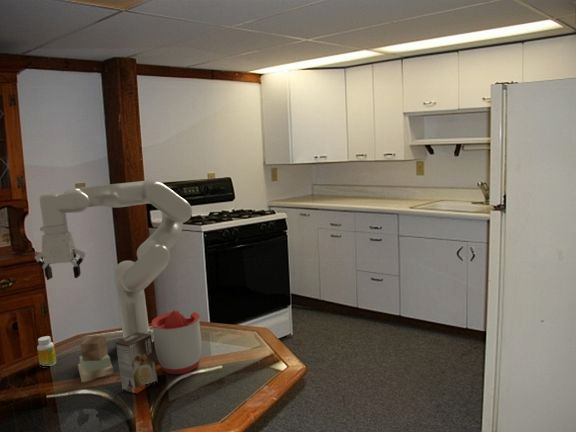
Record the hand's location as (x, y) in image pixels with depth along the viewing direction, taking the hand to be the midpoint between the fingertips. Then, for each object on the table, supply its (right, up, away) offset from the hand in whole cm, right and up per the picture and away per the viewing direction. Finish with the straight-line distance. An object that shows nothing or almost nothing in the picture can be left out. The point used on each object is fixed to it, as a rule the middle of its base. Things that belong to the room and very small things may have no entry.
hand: (63, 277), depth 188 cm
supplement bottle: (-7, -31, +3) cm, 32 cm away
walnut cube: (+13, -26, -7) cm, 30 cm away
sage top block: (+13, -29, -6) cm, 32 cm away
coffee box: (+31, -32, -18) cm, 48 cm away
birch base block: (+13, -32, -6) cm, 35 cm away
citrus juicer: (+42, -29, -6) cm, 52 cm away
